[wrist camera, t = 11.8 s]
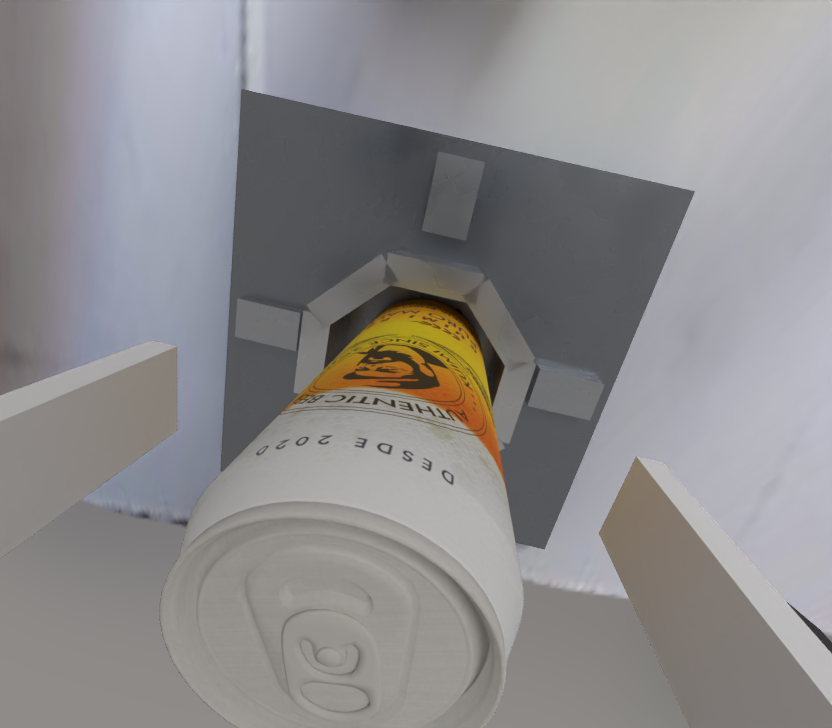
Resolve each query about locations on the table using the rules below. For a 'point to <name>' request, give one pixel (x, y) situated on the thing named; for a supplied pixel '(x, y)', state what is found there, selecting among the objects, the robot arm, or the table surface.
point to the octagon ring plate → (439, 275)
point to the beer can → (358, 547)
